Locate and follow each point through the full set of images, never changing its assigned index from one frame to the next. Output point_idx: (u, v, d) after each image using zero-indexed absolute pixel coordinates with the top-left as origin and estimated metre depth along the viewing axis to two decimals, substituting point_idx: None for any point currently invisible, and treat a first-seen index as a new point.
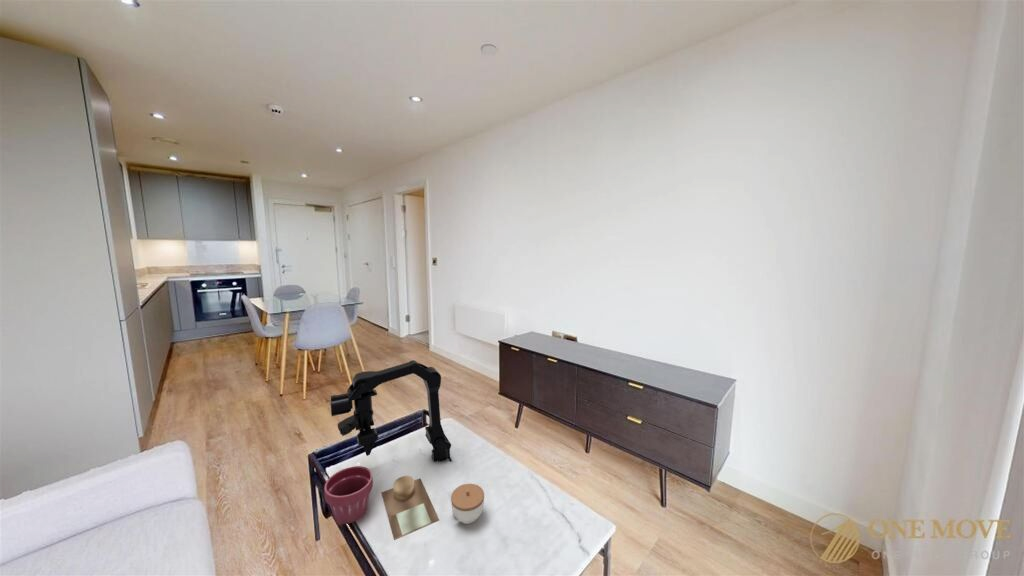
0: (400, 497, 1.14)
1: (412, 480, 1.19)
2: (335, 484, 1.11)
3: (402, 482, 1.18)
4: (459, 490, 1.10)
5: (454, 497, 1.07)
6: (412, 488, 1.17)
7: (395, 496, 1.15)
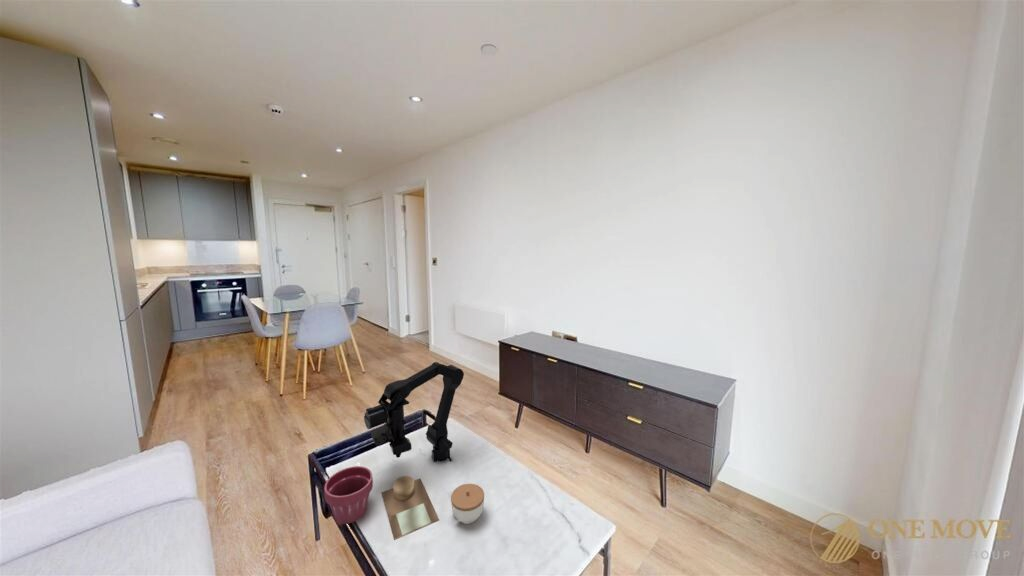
0: (400, 497, 1.14)
1: (412, 480, 1.19)
2: (335, 484, 1.11)
3: (402, 482, 1.18)
4: (459, 490, 1.10)
5: (454, 497, 1.07)
6: (412, 488, 1.17)
7: (395, 496, 1.15)
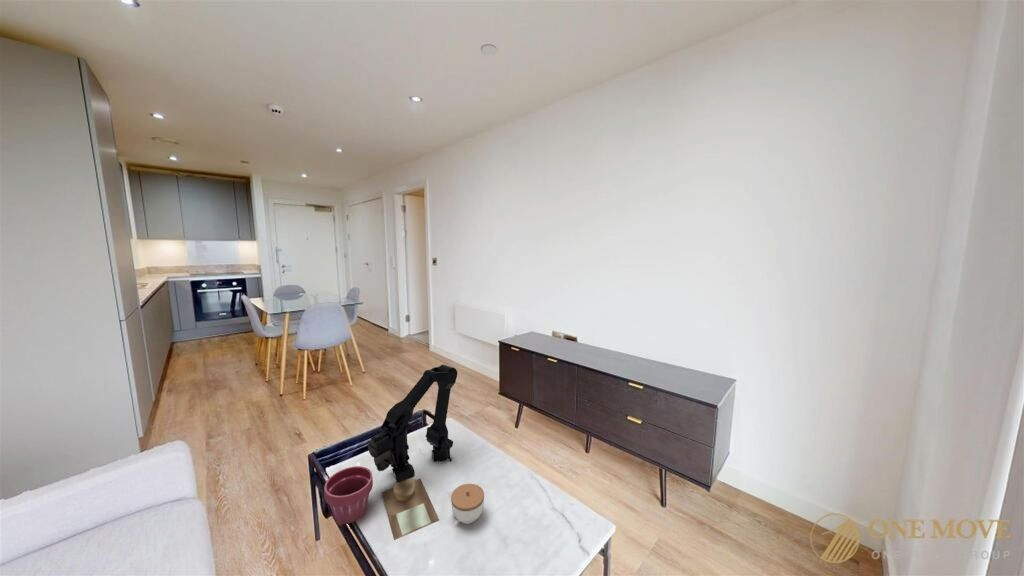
0: (400, 498, 1.14)
1: (412, 481, 1.18)
2: (335, 484, 1.11)
3: (402, 483, 1.17)
4: (459, 490, 1.10)
5: (454, 497, 1.07)
6: (412, 489, 1.16)
7: (395, 497, 1.15)
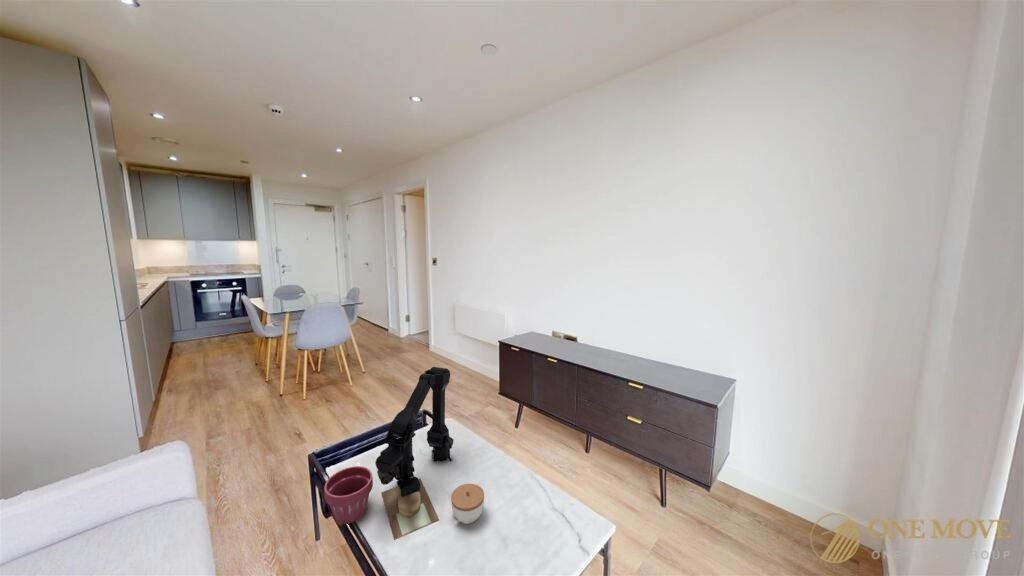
0: (405, 513, 1.08)
1: (418, 494, 1.12)
2: (335, 484, 1.11)
3: (408, 496, 1.11)
4: (459, 490, 1.10)
5: (454, 497, 1.07)
6: (418, 503, 1.10)
7: (400, 512, 1.08)
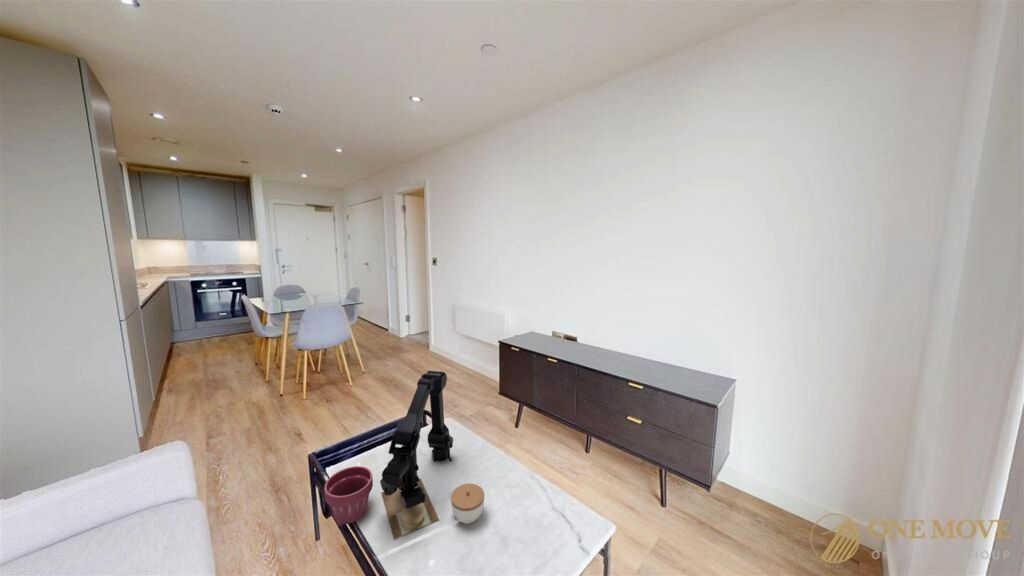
0: (408, 525, 1.03)
1: (422, 506, 1.07)
2: (335, 484, 1.11)
3: (411, 508, 1.06)
4: (459, 490, 1.10)
5: (454, 497, 1.07)
6: (422, 515, 1.05)
7: (403, 524, 1.04)
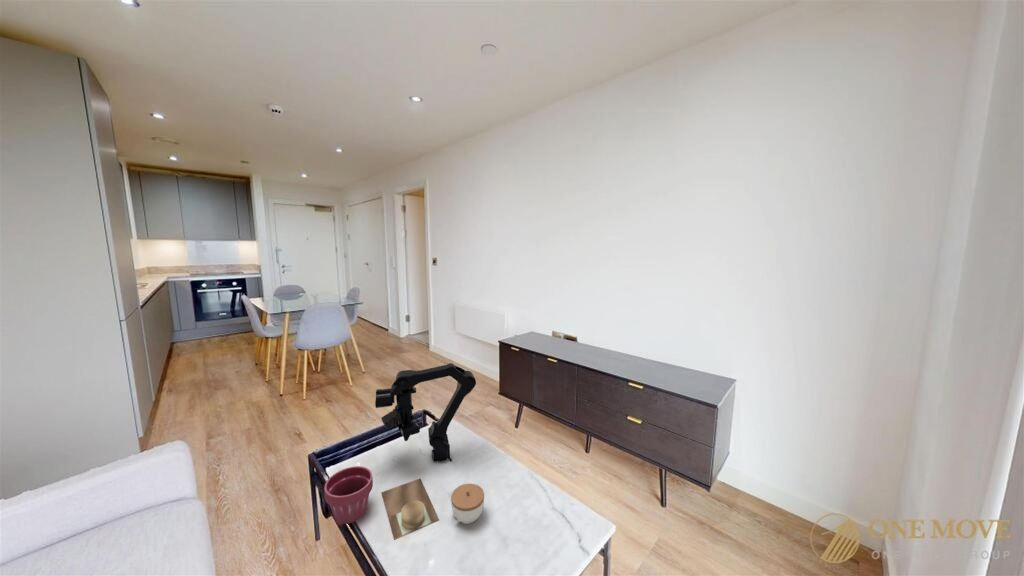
0: (408, 526, 1.03)
1: (422, 506, 1.07)
2: (335, 484, 1.11)
3: (411, 508, 1.06)
4: (459, 490, 1.10)
5: (454, 497, 1.07)
6: (422, 515, 1.05)
7: (403, 524, 1.04)
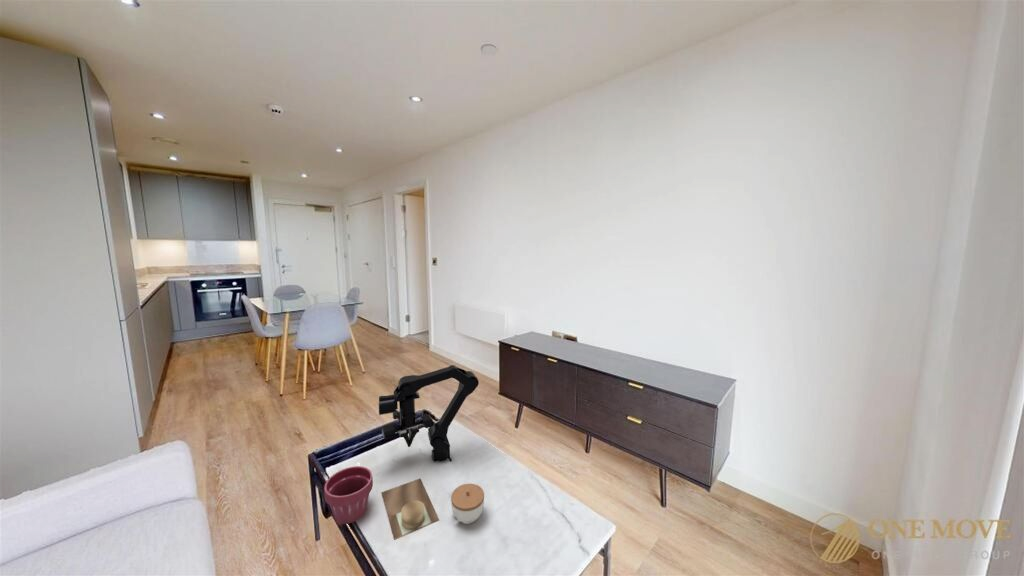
0: (408, 525, 1.03)
1: (422, 506, 1.07)
2: (335, 484, 1.11)
3: (411, 508, 1.06)
4: (459, 490, 1.10)
5: (454, 497, 1.07)
6: (422, 515, 1.05)
7: (403, 524, 1.04)
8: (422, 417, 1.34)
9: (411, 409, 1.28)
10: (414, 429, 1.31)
